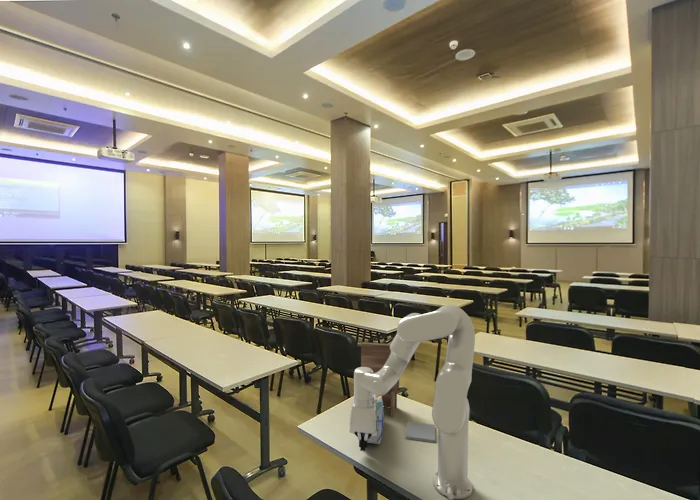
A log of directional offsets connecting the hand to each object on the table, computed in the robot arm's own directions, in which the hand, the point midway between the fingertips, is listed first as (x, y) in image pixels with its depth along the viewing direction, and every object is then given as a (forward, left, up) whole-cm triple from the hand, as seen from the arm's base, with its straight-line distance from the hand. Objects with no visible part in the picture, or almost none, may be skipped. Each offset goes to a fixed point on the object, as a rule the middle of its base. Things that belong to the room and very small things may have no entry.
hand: (363, 448), depth 127 cm
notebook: (+21, -21, -3) cm, 30 cm away
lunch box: (+17, 0, -3) cm, 18 cm away
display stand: (+37, 0, -3) cm, 37 cm away
